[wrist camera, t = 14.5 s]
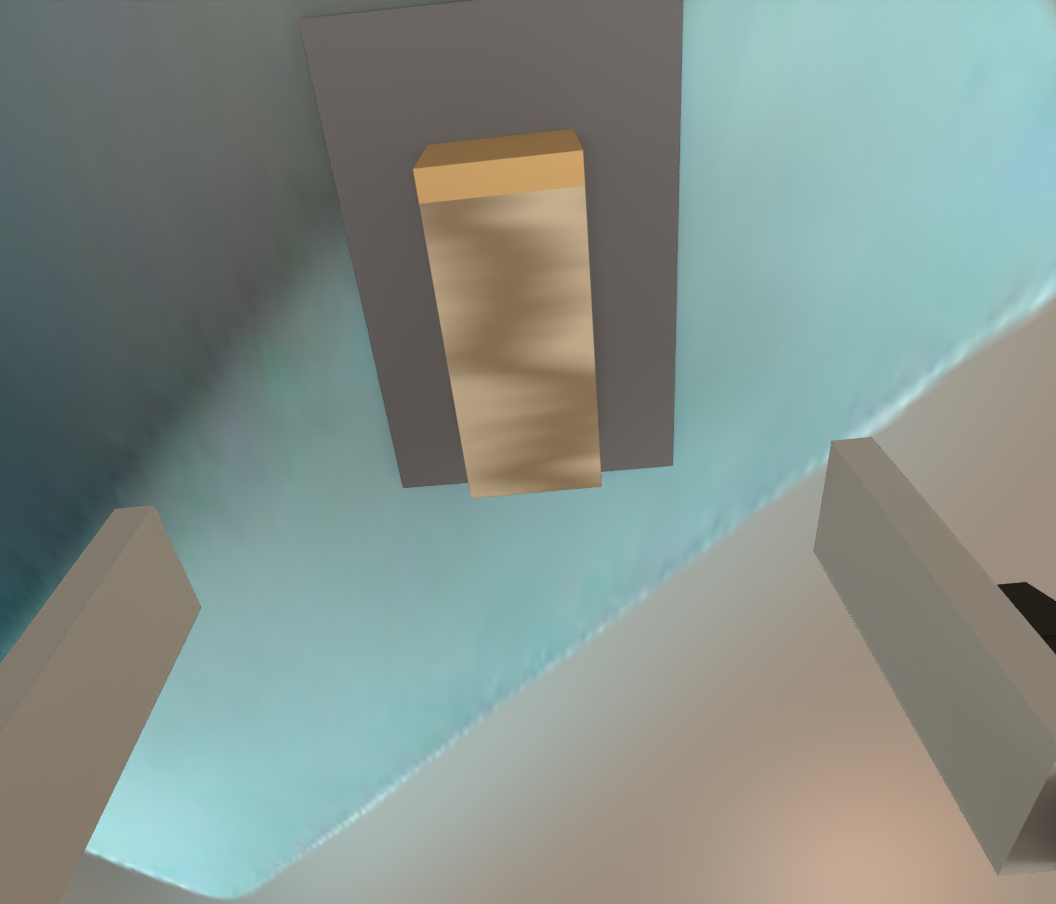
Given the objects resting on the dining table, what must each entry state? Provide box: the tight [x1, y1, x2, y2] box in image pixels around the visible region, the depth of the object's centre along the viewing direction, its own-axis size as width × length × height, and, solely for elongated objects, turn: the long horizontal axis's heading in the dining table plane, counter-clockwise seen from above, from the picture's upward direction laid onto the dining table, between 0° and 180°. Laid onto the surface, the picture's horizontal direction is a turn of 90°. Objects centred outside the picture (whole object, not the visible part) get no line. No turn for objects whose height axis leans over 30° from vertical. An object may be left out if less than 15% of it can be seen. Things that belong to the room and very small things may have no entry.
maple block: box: [413, 129, 602, 498], centre depth 26 cm, size 5×4×12 cm
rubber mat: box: [298, 0, 683, 488], centre depth 27 cm, size 12×18×1 cm, turn 5°
